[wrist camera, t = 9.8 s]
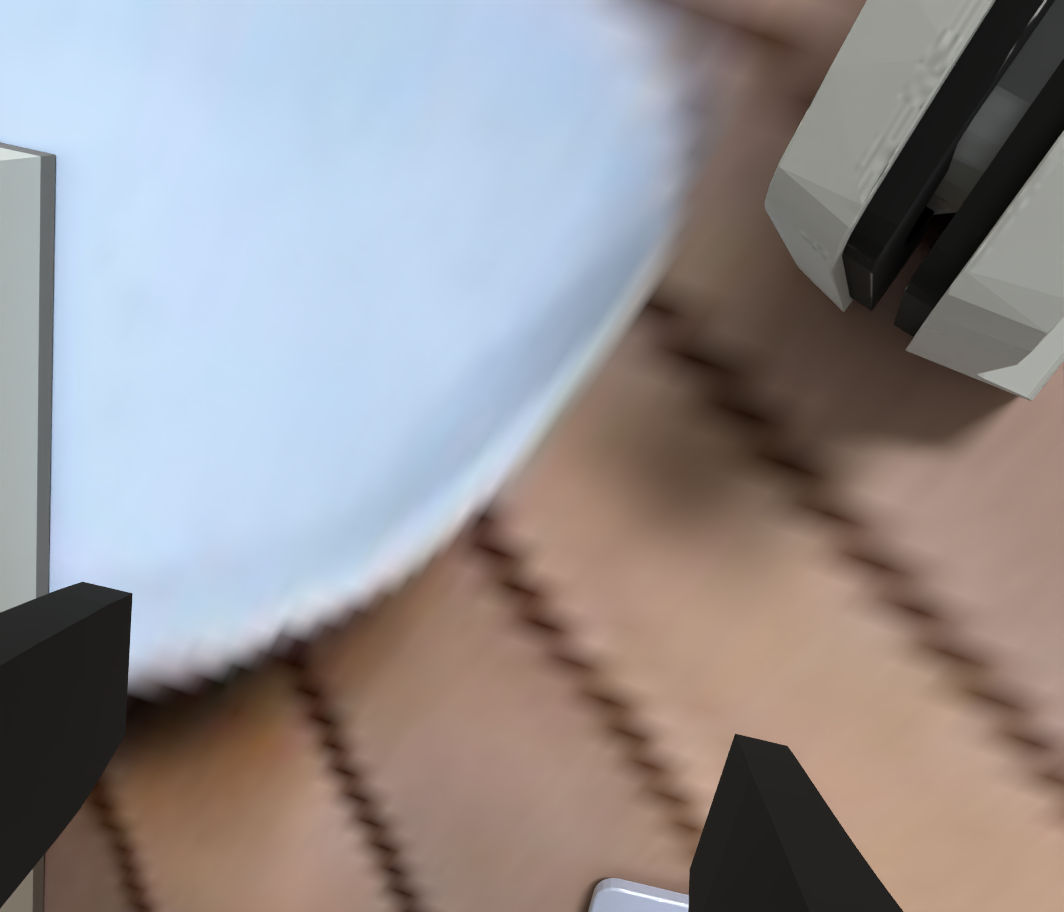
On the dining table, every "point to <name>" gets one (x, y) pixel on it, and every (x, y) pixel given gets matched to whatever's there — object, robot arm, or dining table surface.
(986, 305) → the grey and black device
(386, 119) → the dining table surface
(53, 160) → the post foot
